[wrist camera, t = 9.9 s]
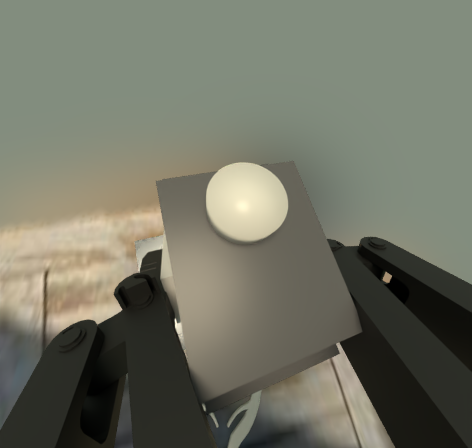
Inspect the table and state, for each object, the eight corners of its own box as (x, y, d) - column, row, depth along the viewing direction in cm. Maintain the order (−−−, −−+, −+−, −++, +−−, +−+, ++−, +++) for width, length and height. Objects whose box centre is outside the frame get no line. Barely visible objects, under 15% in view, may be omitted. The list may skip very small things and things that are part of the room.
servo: (205, 335, 14) (208, 519, 3) (184, 234, 16) (142, 131, 5) (263, 314, 15) (417, 394, 4) (237, 222, 18) (292, 118, 6)
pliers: (264, 364, 24) (260, 529, 20) (261, 359, 26) (256, 512, 21) (191, 362, 23) (167, 538, 18) (191, 357, 25) (169, 519, 20)
